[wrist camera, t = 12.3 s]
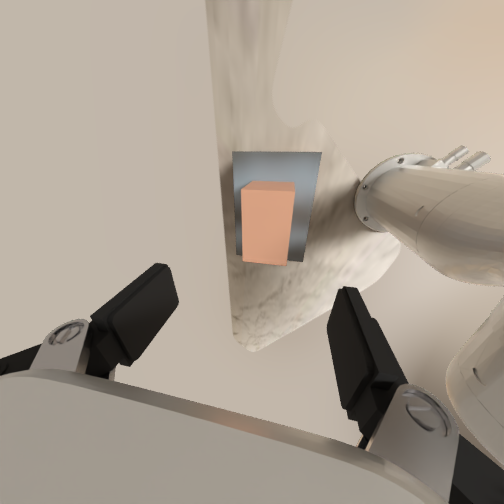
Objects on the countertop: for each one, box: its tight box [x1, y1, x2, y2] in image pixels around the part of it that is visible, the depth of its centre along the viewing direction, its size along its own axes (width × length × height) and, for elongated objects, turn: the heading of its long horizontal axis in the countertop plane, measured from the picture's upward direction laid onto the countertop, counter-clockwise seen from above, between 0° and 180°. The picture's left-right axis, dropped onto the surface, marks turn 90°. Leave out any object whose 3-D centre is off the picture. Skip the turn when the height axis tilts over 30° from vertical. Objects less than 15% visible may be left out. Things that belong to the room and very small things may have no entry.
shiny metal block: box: [232, 152, 322, 262], centre depth 29 cm, size 14×10×12 cm
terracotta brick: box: [241, 181, 295, 266], centre depth 21 cm, size 8×5×6 cm, turn 0°
